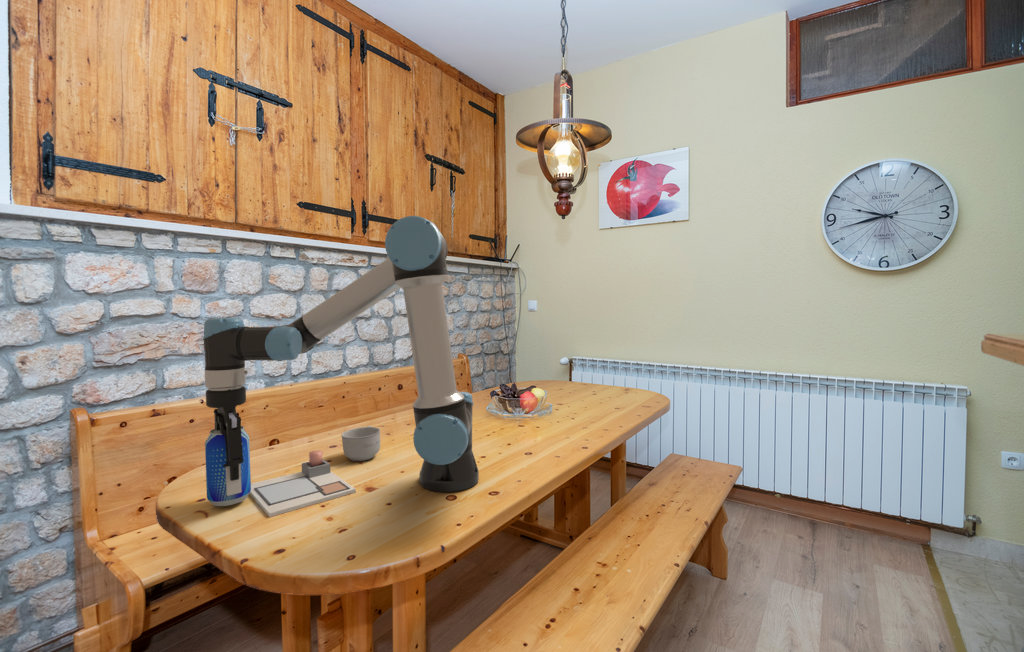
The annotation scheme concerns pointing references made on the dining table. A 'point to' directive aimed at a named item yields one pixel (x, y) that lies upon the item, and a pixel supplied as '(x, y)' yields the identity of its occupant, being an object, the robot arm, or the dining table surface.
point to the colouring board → (299, 489)
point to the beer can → (217, 472)
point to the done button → (315, 458)
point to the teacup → (361, 443)
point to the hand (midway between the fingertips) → (229, 487)
